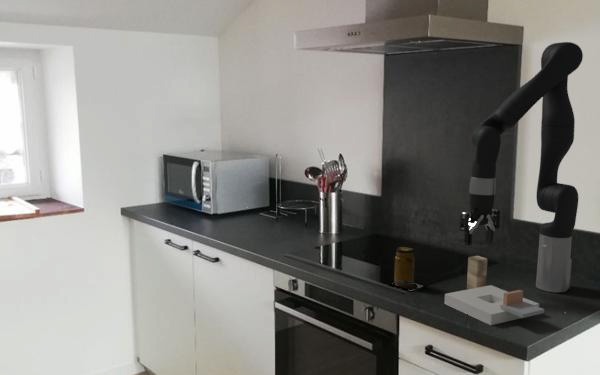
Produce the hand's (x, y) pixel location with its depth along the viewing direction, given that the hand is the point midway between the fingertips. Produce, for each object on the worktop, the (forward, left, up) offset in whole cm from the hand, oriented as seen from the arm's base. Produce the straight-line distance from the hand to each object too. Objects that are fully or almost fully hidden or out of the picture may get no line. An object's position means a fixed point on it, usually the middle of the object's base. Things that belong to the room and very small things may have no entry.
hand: (478, 243), depth 184 cm
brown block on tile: (+9, +26, -11) cm, 30 cm away
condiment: (+18, -12, -15) cm, 26 cm away
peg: (0, 0, -15) cm, 15 cm away
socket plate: (+9, +15, -15) cm, 23 cm away
